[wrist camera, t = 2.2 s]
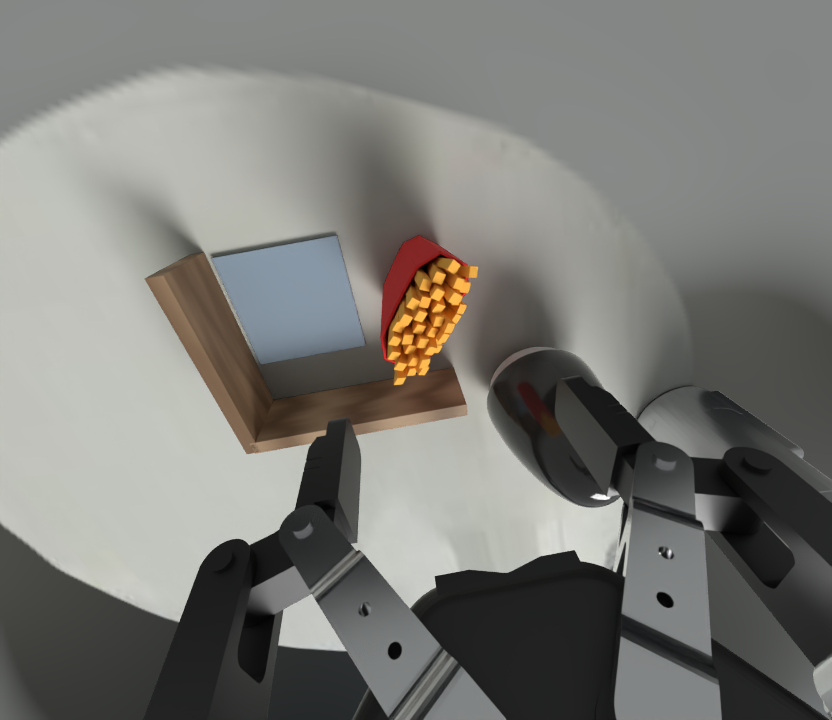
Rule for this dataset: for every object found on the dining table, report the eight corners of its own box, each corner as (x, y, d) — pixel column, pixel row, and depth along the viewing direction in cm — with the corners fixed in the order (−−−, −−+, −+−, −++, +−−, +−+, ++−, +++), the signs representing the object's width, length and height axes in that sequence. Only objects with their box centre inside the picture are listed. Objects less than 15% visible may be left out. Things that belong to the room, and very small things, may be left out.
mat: (337, 235, 27) (336, 235, 27) (365, 344, 33) (365, 345, 32) (213, 257, 27) (211, 258, 27) (261, 362, 33) (260, 364, 32)
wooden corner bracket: (435, 210, 27) (448, 223, 22) (454, 377, 35) (467, 415, 30) (188, 255, 27) (144, 278, 22) (266, 411, 35) (247, 454, 30)
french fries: (411, 321, 32) (427, 401, 22) (372, 305, 31) (368, 381, 20) (457, 235, 28) (502, 281, 18) (414, 212, 27) (436, 248, 17)
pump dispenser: (552, 417, 40) (636, 545, 27) (466, 408, 38) (511, 541, 25) (591, 339, 35) (719, 450, 22) (494, 324, 33) (571, 436, 20)
